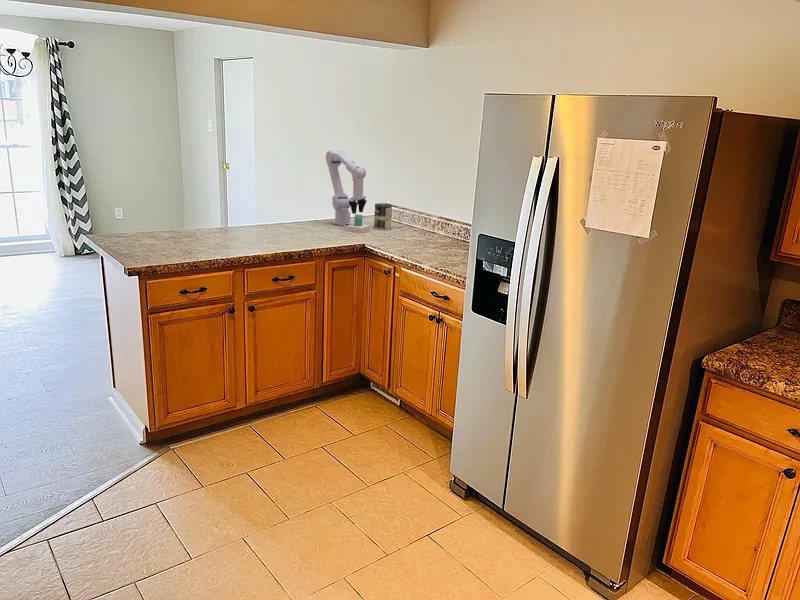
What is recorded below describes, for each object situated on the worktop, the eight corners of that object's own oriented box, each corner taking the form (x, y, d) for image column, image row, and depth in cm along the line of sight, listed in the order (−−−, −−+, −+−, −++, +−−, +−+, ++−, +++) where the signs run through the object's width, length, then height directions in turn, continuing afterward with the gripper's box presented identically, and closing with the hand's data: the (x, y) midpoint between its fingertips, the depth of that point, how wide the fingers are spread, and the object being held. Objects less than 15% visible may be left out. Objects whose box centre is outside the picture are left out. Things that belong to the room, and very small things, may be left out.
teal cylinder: (356, 224, 355) (357, 214, 353) (363, 225, 353) (364, 215, 351) (352, 225, 351) (353, 215, 349) (359, 226, 349) (360, 216, 347)
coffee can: (376, 229, 359) (377, 205, 355) (372, 226, 369) (372, 203, 364) (393, 229, 362) (394, 206, 358) (388, 226, 372) (389, 203, 368)
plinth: (355, 228, 359) (355, 223, 358) (370, 230, 355) (370, 225, 354) (346, 230, 350) (346, 225, 350) (361, 233, 346) (361, 227, 345)
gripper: (357, 191, 344) (356, 215, 348) (370, 189, 356) (369, 212, 360) (346, 189, 347) (346, 213, 351) (360, 187, 359) (359, 210, 363)
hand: (357, 212), depth 356 cm, fingers open, 7 cm apart
